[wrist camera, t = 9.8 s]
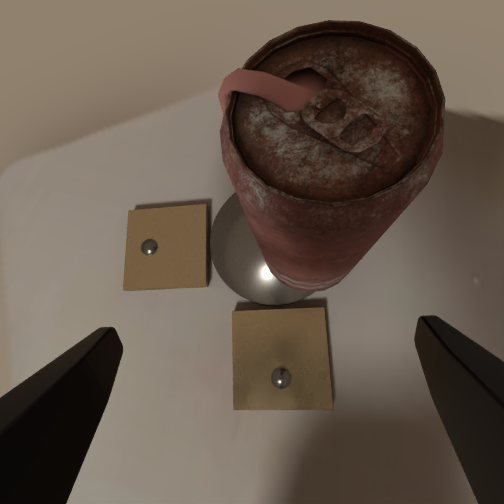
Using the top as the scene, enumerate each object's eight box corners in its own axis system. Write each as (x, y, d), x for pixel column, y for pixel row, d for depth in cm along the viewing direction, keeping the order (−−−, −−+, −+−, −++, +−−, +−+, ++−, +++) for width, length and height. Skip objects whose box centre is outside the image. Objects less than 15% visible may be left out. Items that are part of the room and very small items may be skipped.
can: (269, 199, 23) (231, 1, 9) (361, 213, 21) (471, 10, 8) (250, 282, 21) (174, 192, 8) (347, 301, 20) (452, 236, 7)
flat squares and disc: (357, 407, 19) (359, 410, 19) (119, 408, 21) (113, 410, 20) (333, 177, 23) (334, 172, 22) (133, 195, 25) (129, 191, 24)
